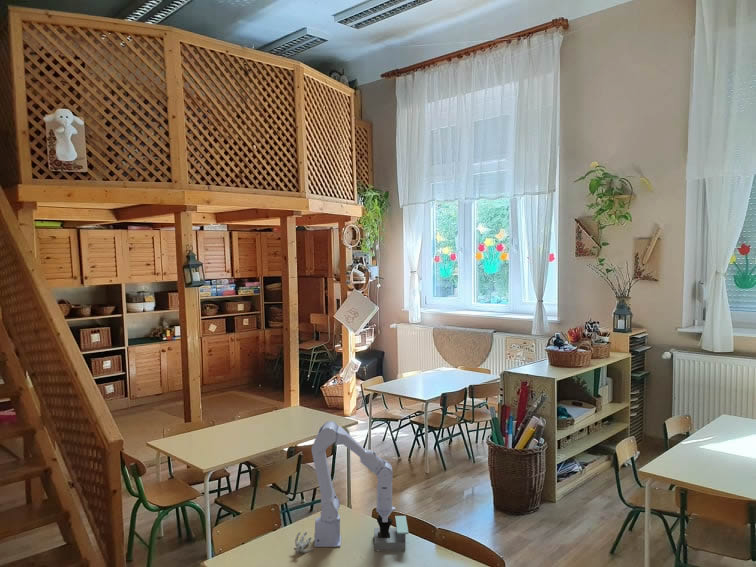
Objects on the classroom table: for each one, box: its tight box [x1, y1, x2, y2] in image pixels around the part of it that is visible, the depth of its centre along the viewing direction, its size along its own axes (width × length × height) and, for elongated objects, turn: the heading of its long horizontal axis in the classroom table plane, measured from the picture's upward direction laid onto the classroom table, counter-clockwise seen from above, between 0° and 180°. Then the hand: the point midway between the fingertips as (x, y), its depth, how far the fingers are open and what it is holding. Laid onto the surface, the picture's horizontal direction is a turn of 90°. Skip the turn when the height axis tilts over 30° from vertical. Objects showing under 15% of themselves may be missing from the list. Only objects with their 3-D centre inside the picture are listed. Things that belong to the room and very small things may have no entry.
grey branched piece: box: [293, 531, 314, 555], centre depth 199 cm, size 8×5×12 cm
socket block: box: [373, 515, 409, 552], centre depth 204 cm, size 12×13×7 cm
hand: (384, 532), depth 203 cm, fingers open, 6 cm apart
